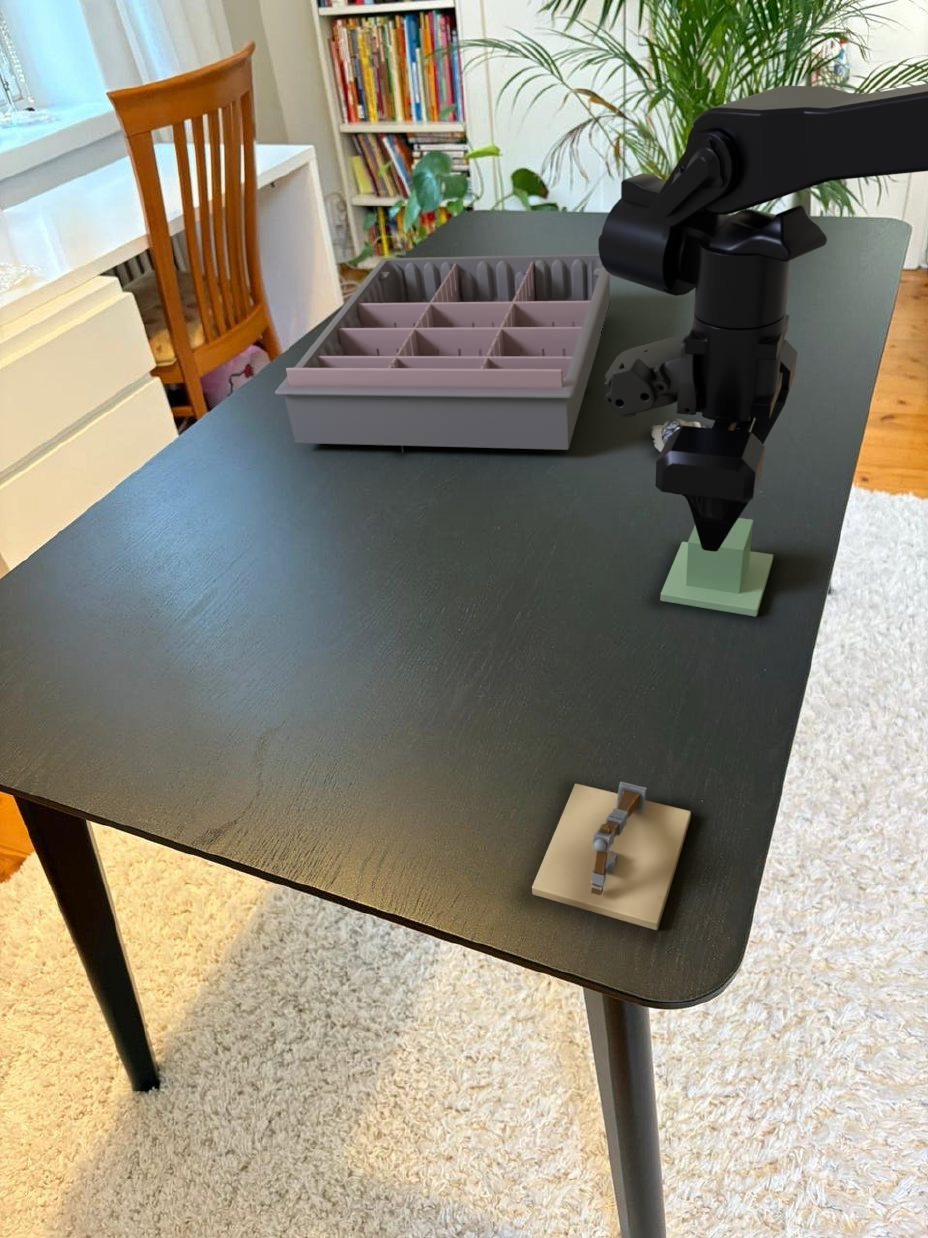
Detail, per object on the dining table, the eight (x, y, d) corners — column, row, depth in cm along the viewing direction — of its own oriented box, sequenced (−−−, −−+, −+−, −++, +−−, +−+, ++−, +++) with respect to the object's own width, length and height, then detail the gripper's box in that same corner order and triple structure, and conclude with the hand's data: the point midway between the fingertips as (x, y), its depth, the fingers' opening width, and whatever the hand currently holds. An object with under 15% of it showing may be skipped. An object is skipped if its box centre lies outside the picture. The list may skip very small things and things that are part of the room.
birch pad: (690, 818, 65) (691, 810, 64) (657, 931, 59) (657, 923, 58) (575, 790, 68) (575, 782, 67) (532, 895, 61) (531, 887, 61)
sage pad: (772, 561, 85) (773, 554, 85) (756, 617, 80) (757, 609, 79) (681, 548, 88) (682, 541, 88) (660, 601, 83) (660, 593, 82)
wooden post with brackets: (576, 897, 59) (585, 831, 58) (612, 839, 66) (620, 778, 65) (605, 906, 58) (614, 839, 57) (638, 846, 65) (647, 785, 64)
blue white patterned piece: (693, 419, 106) (694, 403, 105) (733, 451, 100) (734, 435, 99) (637, 435, 105) (637, 419, 104) (675, 468, 99) (675, 452, 98)
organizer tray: (616, 312, 131) (615, 237, 125) (574, 465, 101) (571, 376, 95) (389, 314, 139) (378, 243, 132) (289, 457, 109) (269, 374, 103)
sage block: (749, 562, 84) (753, 519, 81) (739, 593, 81) (743, 549, 78) (697, 555, 86) (699, 512, 83) (685, 585, 83) (687, 541, 80)
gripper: (652, 255, 72) (647, 442, 82) (575, 364, 59) (581, 570, 69) (809, 261, 68) (785, 457, 78) (764, 379, 55) (741, 596, 65)
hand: (722, 515), depth 72 cm, fingers open, 9 cm apart
